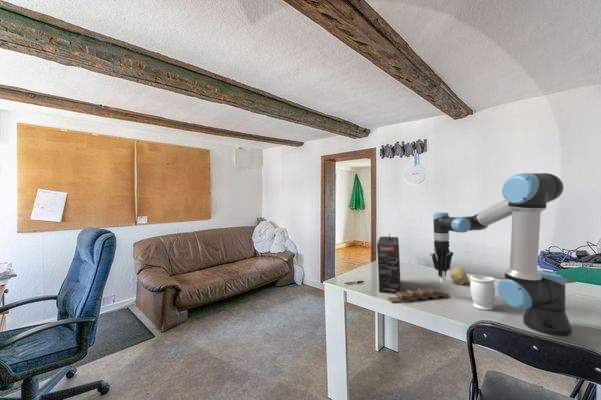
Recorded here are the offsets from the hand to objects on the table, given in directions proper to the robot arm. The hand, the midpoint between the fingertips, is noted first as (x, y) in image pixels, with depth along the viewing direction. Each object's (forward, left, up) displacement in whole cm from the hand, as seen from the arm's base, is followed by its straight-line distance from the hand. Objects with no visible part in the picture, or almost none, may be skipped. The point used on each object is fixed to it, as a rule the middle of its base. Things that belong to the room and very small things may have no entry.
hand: (442, 282), depth 150 cm
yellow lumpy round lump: (+17, -25, -8) cm, 31 cm away
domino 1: (0, +22, -8) cm, 23 cm away
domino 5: (0, -2, -7) cm, 7 cm away
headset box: (+22, +21, -8) cm, 31 cm away
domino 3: (0, +11, -7) cm, 13 cm away
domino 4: (0, +4, -7) cm, 8 cm away
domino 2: (0, +17, -7) cm, 18 cm away
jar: (-17, -10, -8) cm, 21 cm away
